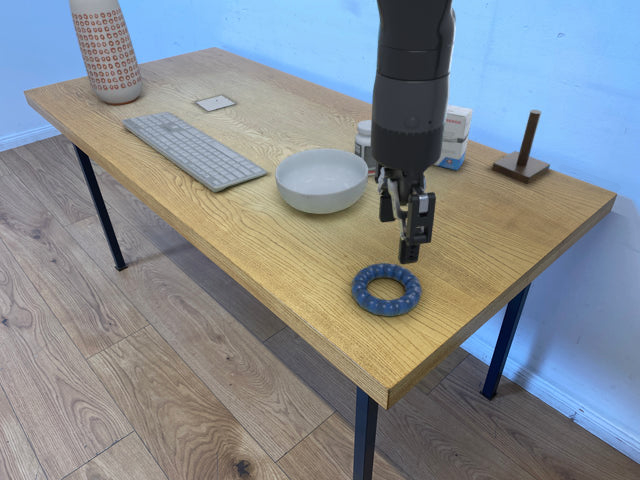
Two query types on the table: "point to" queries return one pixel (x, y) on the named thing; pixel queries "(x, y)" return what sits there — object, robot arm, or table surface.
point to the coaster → (215, 103)
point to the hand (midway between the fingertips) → (396, 239)
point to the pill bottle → (365, 145)
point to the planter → (106, 50)
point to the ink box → (455, 137)
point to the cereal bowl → (322, 180)
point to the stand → (523, 156)
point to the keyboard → (193, 150)
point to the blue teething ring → (381, 305)
